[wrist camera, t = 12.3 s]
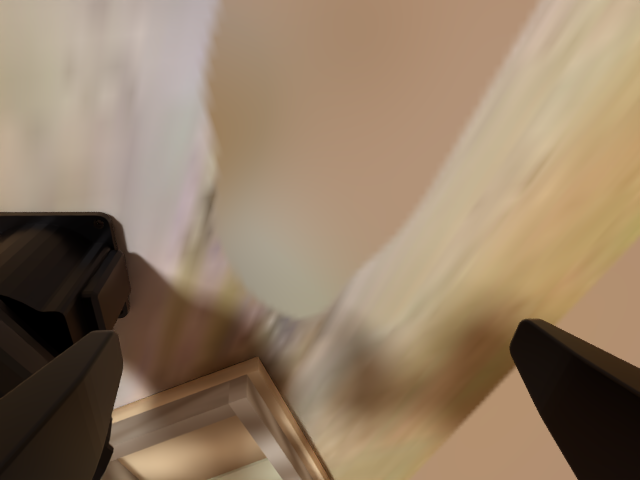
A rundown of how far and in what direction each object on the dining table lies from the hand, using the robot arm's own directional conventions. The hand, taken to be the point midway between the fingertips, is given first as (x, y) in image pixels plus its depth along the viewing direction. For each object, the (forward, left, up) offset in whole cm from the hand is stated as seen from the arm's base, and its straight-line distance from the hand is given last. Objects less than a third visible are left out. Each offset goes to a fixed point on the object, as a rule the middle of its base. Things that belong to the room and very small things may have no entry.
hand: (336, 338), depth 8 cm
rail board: (-5, -24, -13) cm, 28 cm away
